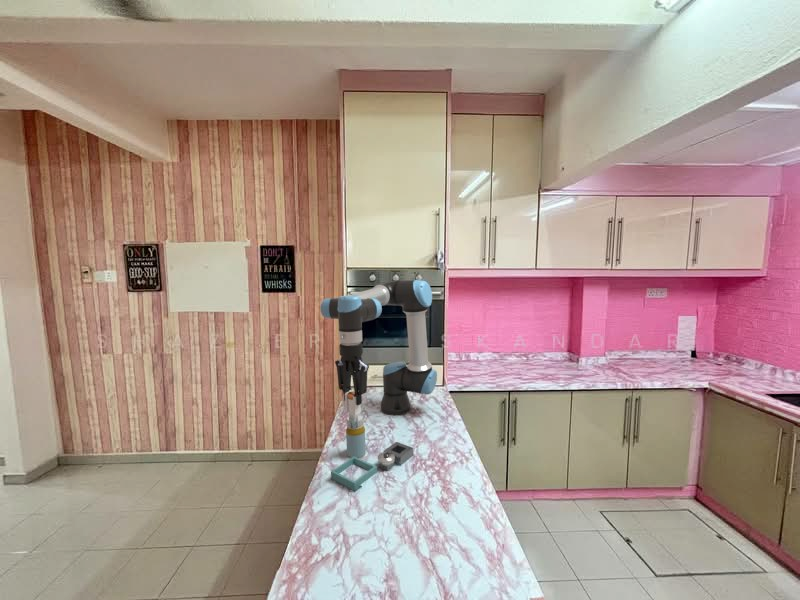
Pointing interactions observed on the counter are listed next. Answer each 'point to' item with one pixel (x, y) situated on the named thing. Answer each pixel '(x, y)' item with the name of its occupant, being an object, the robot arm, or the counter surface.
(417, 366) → the robot arm
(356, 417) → the pin
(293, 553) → the counter surface
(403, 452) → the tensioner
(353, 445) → the bottle
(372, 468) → the tray
